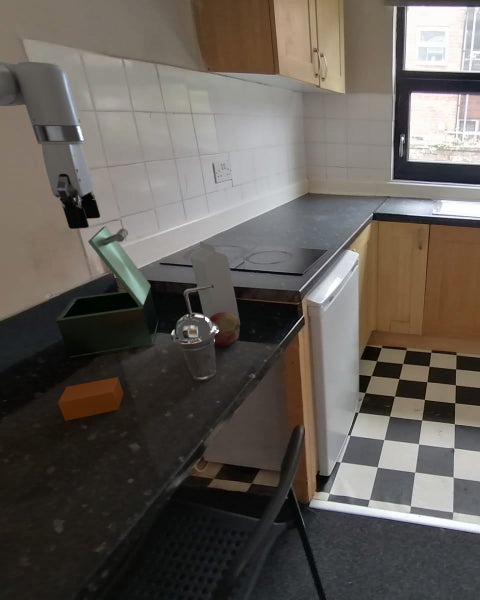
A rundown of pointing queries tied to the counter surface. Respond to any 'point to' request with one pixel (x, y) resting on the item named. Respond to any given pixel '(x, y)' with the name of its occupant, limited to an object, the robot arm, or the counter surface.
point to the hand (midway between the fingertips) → (86, 222)
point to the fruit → (226, 329)
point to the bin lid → (120, 263)
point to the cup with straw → (197, 340)
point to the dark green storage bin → (107, 324)
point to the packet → (91, 398)
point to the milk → (214, 281)
